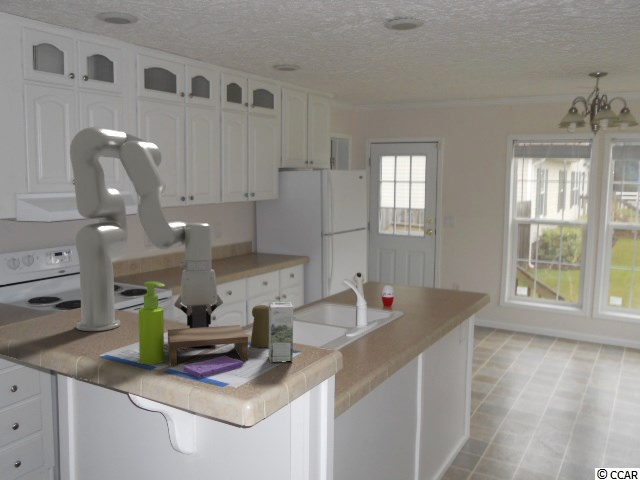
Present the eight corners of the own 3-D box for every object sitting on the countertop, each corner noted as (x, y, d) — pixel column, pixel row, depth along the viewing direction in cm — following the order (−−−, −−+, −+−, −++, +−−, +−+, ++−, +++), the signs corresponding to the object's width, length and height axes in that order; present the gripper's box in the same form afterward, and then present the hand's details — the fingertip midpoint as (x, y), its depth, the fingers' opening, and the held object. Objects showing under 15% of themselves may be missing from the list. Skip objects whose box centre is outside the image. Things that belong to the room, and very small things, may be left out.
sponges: (183, 373, 135) (182, 365, 135) (225, 361, 144) (225, 354, 144) (200, 380, 130) (200, 372, 130) (243, 368, 139) (243, 360, 139)
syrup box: (290, 355, 148) (290, 300, 146) (293, 362, 142) (293, 306, 140) (268, 356, 147) (268, 301, 145) (270, 363, 141) (270, 306, 140)
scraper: (186, 333, 168) (185, 303, 167) (210, 331, 170) (209, 301, 169) (190, 346, 152) (190, 313, 152) (217, 344, 154) (216, 312, 154)
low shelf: (167, 352, 149) (167, 329, 149) (239, 346, 155) (239, 325, 155) (170, 366, 138) (170, 342, 137) (247, 359, 144) (247, 336, 143)
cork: (268, 348, 154) (268, 308, 152) (247, 347, 155) (247, 307, 154) (274, 342, 159) (275, 304, 158) (254, 341, 161) (254, 302, 159)
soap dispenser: (154, 366, 138) (153, 285, 136) (134, 361, 141) (132, 282, 139) (172, 359, 143) (171, 281, 141) (152, 355, 146) (150, 278, 144)
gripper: (169, 268, 158) (170, 332, 160) (229, 266, 163) (229, 328, 165) (167, 264, 165) (168, 326, 167) (225, 262, 170) (225, 322, 172)
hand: (199, 326), depth 166 cm, fingers closed on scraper, 4 cm apart
